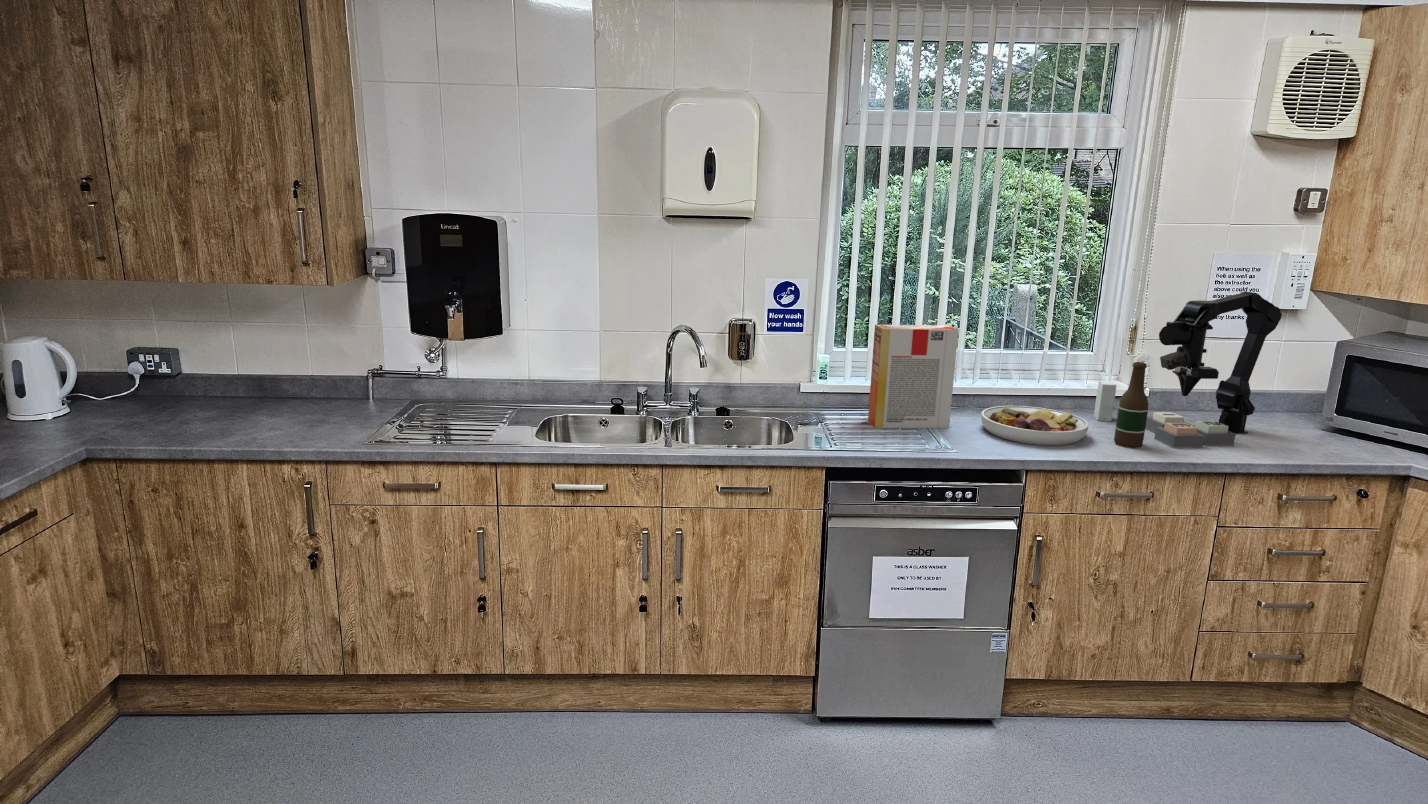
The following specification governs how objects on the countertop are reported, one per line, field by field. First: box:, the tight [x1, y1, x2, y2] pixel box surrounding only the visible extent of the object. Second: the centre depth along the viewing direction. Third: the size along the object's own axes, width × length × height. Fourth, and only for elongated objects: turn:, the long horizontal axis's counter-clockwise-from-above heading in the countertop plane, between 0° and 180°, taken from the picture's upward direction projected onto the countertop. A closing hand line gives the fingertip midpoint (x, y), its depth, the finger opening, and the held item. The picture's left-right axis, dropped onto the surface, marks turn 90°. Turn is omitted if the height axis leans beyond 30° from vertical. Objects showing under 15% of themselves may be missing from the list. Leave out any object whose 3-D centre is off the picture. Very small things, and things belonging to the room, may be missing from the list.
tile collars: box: [1145, 416, 1237, 449], centre depth 254 cm, size 20×21×4 cm
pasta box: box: [867, 324, 959, 429], centre depth 258 cm, size 23×8×30 cm, turn 94°
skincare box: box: [1093, 380, 1117, 422], centre depth 272 cm, size 6×4×12 cm
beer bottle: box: [1113, 361, 1149, 449], centre depth 243 cm, size 8×8×24 cm
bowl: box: [980, 405, 1089, 446], centre depth 254 cm, size 30×30×8 cm
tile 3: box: [1164, 422, 1197, 435], centre depth 247 cm, size 6×6×3 cm
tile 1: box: [1152, 411, 1185, 424], centre depth 259 cm, size 6×6×3 cm
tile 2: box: [1194, 420, 1228, 433], centre depth 250 cm, size 6×6×3 cm
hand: (1184, 396), depth 255 cm, fingers closed
